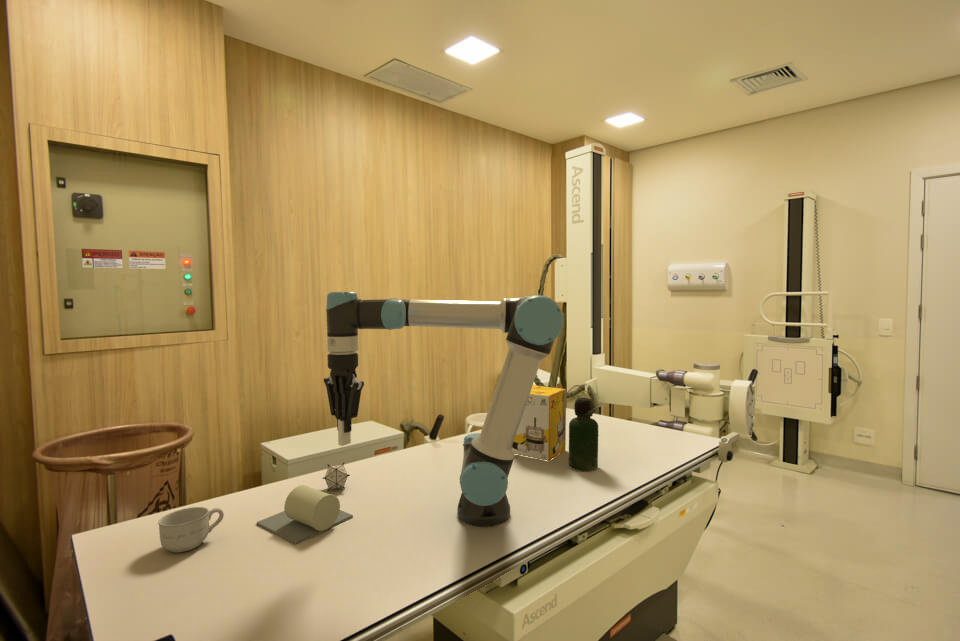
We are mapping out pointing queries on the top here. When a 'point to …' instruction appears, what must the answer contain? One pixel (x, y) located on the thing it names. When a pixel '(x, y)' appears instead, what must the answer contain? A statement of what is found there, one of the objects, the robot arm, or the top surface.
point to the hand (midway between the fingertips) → (344, 444)
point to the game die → (336, 476)
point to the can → (312, 507)
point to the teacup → (186, 528)
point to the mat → (295, 526)
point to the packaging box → (542, 424)
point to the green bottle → (583, 437)
